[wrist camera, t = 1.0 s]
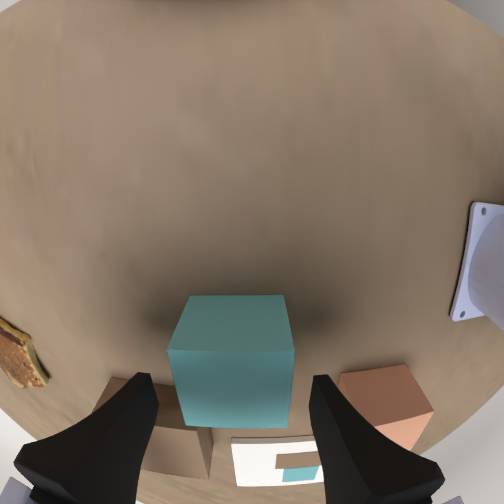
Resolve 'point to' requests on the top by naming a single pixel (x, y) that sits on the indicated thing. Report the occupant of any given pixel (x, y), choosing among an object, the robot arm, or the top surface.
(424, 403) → the terracotta block
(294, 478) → the card
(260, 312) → the teal block
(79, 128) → the top surface
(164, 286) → the top surface
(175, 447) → the walnut block
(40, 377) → the shard
